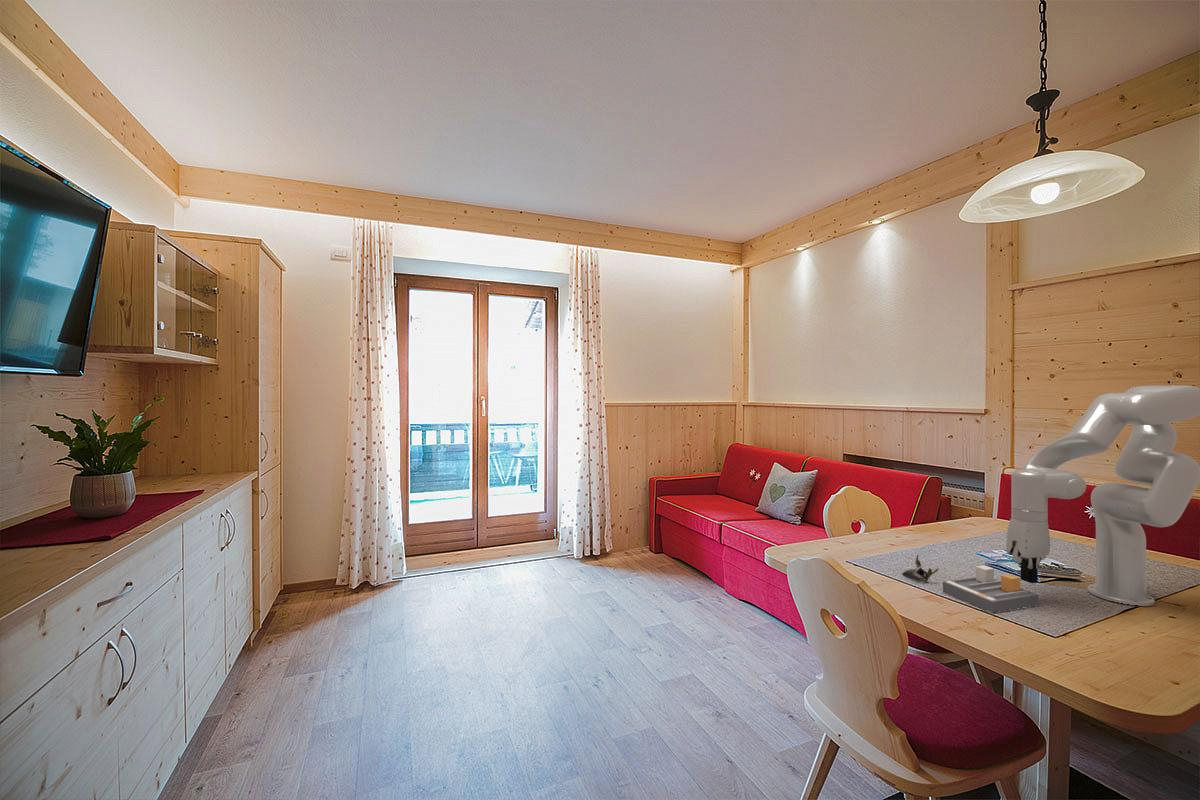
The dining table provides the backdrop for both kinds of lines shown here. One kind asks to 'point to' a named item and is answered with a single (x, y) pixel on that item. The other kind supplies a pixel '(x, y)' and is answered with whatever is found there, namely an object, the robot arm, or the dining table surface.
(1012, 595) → the grey slotted tray
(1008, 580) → the orange tab
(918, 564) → the eagle figurine
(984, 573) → the white block
